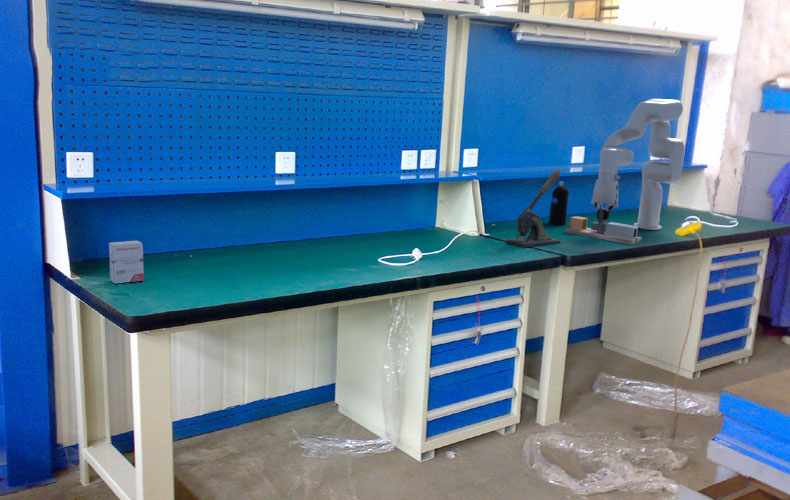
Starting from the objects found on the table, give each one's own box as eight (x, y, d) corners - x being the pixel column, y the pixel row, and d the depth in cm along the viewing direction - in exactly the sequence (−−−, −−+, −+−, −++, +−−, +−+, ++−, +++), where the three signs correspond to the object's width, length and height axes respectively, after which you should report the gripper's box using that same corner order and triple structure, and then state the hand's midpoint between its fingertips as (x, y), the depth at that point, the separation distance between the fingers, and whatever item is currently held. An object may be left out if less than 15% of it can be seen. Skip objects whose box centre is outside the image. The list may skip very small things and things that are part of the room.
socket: (574, 226, 330) (575, 216, 329) (586, 229, 326) (587, 218, 325) (568, 228, 325) (569, 217, 324) (581, 230, 322) (582, 219, 321)
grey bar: (594, 230, 323) (597, 206, 321) (630, 236, 313) (633, 212, 311) (590, 231, 320) (592, 207, 317) (626, 237, 310) (629, 213, 307)
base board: (577, 229, 332) (577, 226, 332) (641, 240, 314) (641, 237, 314) (565, 232, 323) (565, 229, 323) (630, 244, 305) (631, 241, 305)
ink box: (139, 278, 218) (138, 239, 216) (144, 282, 214) (143, 242, 212) (109, 281, 213) (108, 241, 211) (113, 285, 209) (112, 245, 207)
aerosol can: (564, 223, 346) (569, 181, 342) (567, 226, 338) (571, 183, 334) (547, 221, 347) (551, 180, 343) (549, 225, 339) (553, 182, 335)
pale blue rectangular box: (609, 233, 319) (611, 222, 318) (636, 237, 312) (638, 226, 311) (605, 234, 315) (606, 223, 314) (632, 239, 308) (633, 227, 307)
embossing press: (503, 243, 295) (510, 169, 288) (544, 238, 309) (551, 167, 302) (523, 248, 286) (530, 172, 280) (564, 243, 300) (571, 171, 294)
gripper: (628, 178, 312) (623, 221, 316) (593, 174, 321) (589, 215, 325) (621, 180, 306) (616, 223, 310) (586, 175, 315) (581, 217, 320)
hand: (602, 219), depth 318 cm, fingers closed on grey bar, 2 cm apart
